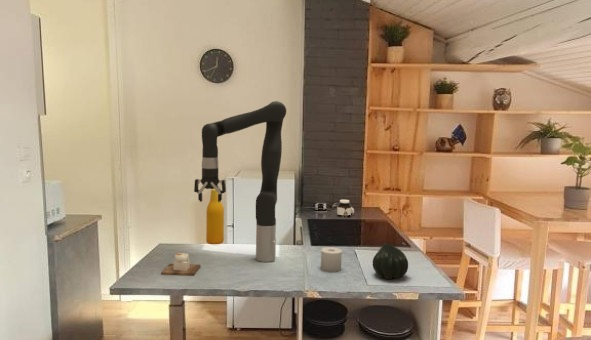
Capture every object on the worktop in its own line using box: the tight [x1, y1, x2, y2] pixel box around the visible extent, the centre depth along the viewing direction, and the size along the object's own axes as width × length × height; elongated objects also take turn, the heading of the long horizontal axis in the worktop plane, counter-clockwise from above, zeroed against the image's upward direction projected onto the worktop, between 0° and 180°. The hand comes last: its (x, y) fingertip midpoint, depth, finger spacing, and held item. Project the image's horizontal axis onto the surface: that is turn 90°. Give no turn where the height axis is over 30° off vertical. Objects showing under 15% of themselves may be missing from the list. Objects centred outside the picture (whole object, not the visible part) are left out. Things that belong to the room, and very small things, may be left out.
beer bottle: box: [206, 189, 225, 245], centre depth 222 cm, size 9×9×29 cm
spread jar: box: [336, 199, 355, 216], centre depth 297 cm, size 12×11×12 cm
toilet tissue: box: [320, 246, 343, 273], centre depth 189 cm, size 9×13×9 cm
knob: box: [173, 252, 191, 271], centre depth 179 cm, size 6×6×6 cm
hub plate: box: [160, 263, 202, 277], centre depth 180 cm, size 14×11×4 cm
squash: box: [372, 243, 409, 280], centre depth 180 cm, size 14×15×15 cm
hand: (210, 201), depth 191 cm, fingers open, 8 cm apart
